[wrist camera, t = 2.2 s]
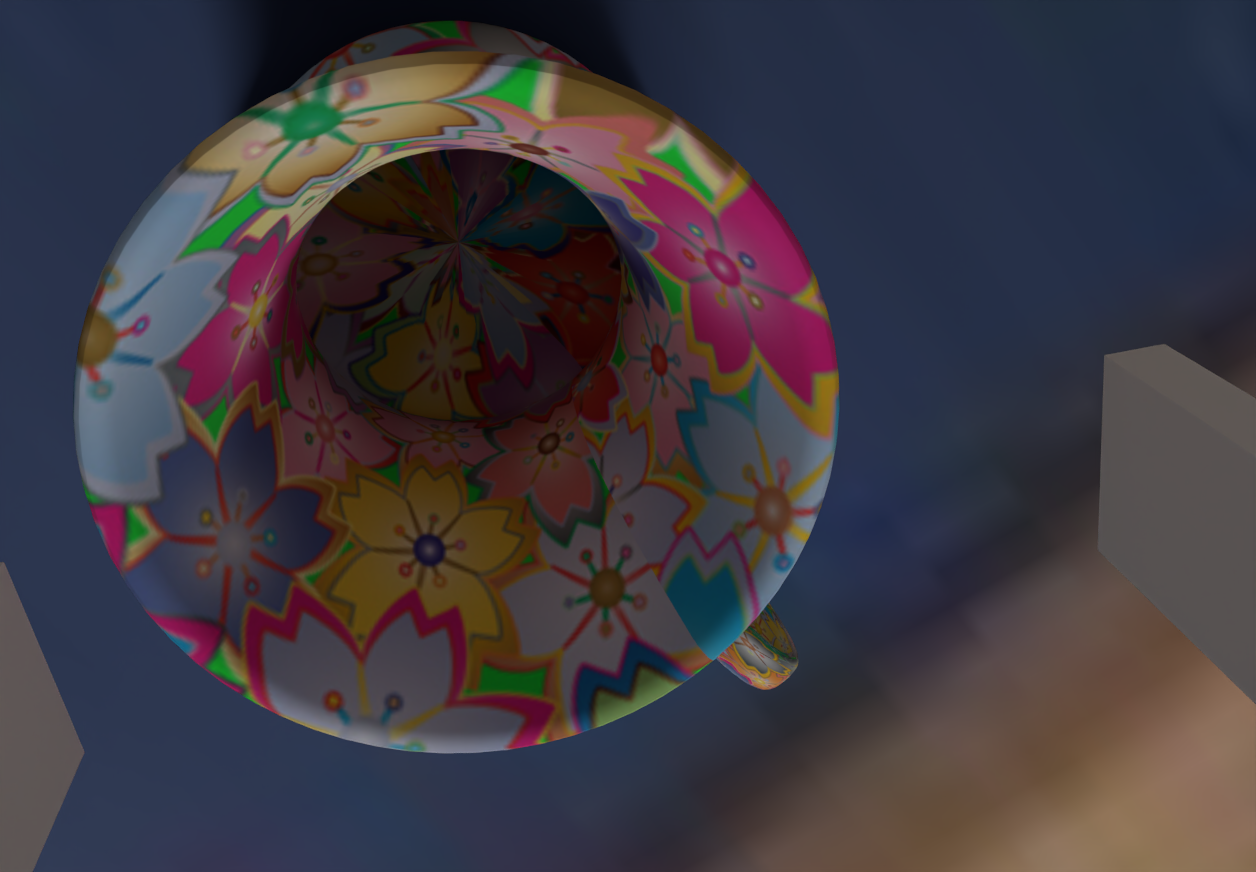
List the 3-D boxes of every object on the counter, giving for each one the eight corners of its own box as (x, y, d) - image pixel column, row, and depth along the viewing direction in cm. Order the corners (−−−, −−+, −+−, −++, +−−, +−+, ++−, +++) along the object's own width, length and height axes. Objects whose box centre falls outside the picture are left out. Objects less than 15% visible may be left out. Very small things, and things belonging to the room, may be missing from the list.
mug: (117, 231, 23) (-108, 459, 13) (456, -120, 21) (475, -148, 12) (542, 592, 28) (601, 953, 18) (844, 326, 26) (1086, 566, 16)
